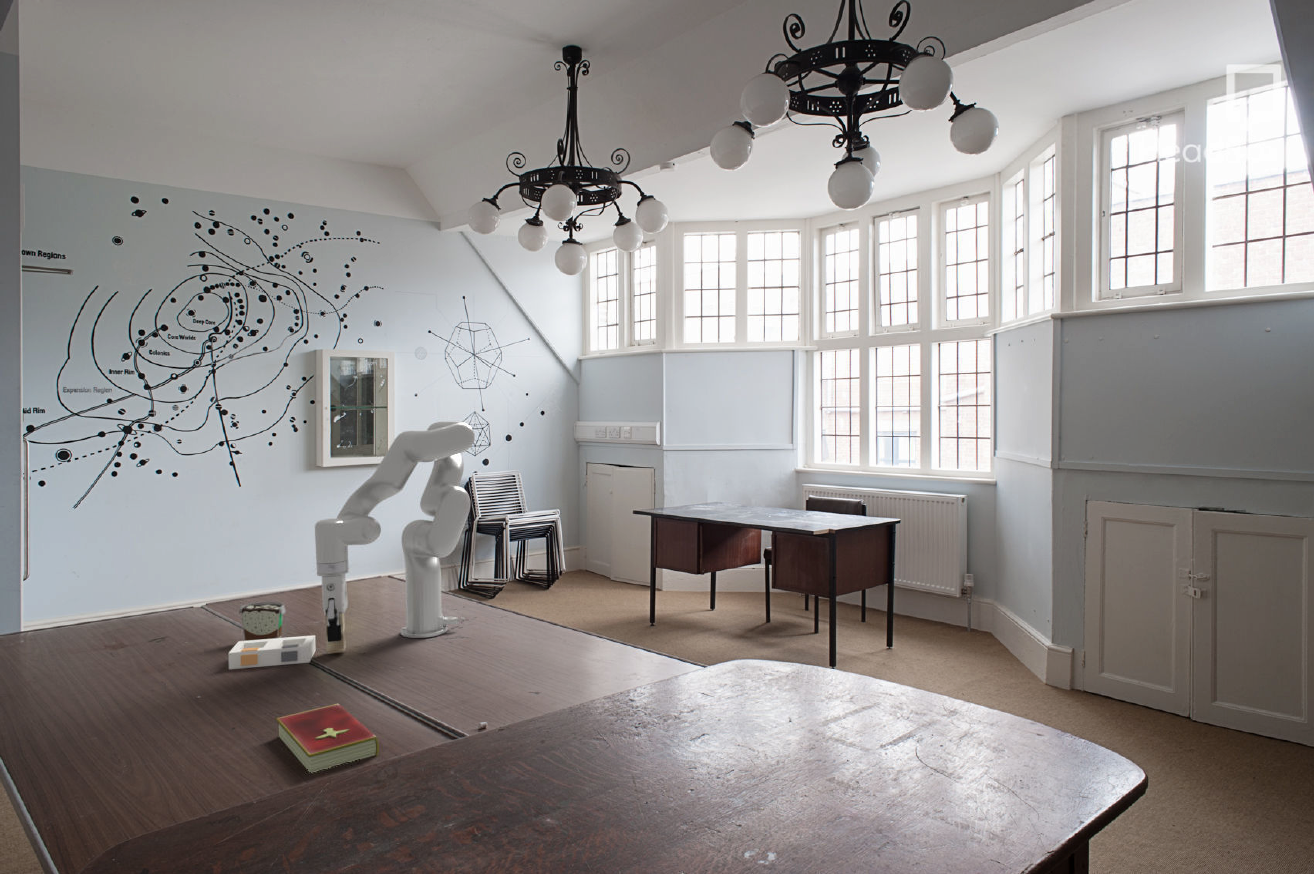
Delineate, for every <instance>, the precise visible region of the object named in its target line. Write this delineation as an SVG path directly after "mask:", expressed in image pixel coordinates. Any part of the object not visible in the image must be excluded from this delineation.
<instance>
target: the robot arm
mask: <svg viewBox="0 0 1314 874" xmlns="http://www.w3.org/2000/svg"><path fill="white" fill-rule="evenodd" d="M474 431H475V430H474V429H473V428H472V426H471V425H469V424H468V423H467V422H463V421H436V422H434V423H432V424H430V425H429V426H428V428H427V429H426V430H407V431H402V432H401V433H399V434H398V435H397V436H396V437H395V438H394V440H393V442H392V443H391V444H390V446H389V448H388V450H387V452H386V453H385V454H384V456H383V458H382V460H380V461H381V462H380V463H379V464H378V466H377V468H376V469H375V471H374V472H373V474H372V475H371V477H369V478H368V479H367V480H366V481H364V482H363V483H362V484H361V485H360V486H359V487H358V488H357V489H356V490H355V491H354V492H352V494H351V495H350V496H349V498H348V499H347V500H346V502H345V504H344V505H343V506H342V507H341V510H340V511H339V513H338V514H337V517H336V518H325V519H320V520H319V521H318V520H317V522H315V525H314V538H315V539H314V541H315V560H316V564H315V565H316V576H317V577H321V589H322V590H321V595H322V610H323V614H324V616H325V615H327V637H328V642H334V641H341V625H340V620H339V613H340V612H341V613H342V614H343V613H344V614H345V612H346V610H347V608H348V606H349V605H348V604H349V603H348V592H347V591H348V589H347V578H346V577H347V576H346V574H349V572H350V571H349V548H348V546H365V545H370V544H372V543H374V542H376V541H377V539H378V538H379V537H380V534H381V532H382V530H381V528H382V527H381V524H380V522H379V521H378V520H377V519H376V518H374V517H371V515H370V513H371V512H372V511H373V510H374V509H375V507H377V506H378V505H379V504H381V503H382V502H383V501H385V500H387V499H389V498H392V497H394V496H395V495H398V494H399V493H400V492H401V491H403V489H404V487H405V486H406V483H407V482H408V480H409V478H410V477H411V475H412V474H413V472H414V470H415V469H416V467H417V465H418V464H419V463H431V462H433V466H432V470H431V473H430V475H429V477H428V479H427V482H426V485H425V488H424V490H423V492H422V494H421V497H420V502H419V506H420V509H421V511H422V512H423V513H424V514H425V515H426V516H429V517H432V518H433V520H429V519H416V520H413V521H410V522H409V523H407V524H406V526H405V527H404V528H403V531H402V533H401V547H402V552H403V558H404V567H405V568H404V571H405V572H404V574H405V617H406V618H405V619H406V620H405V621H406V622H405V623H406V626H404V627H402V628H400V635H401V636H402V637H405V638H408V639H409V638H411V639H425V638H431V637H432V638H433V637H436V636H437V637H438V636H441V635H443V634H445V633H447V632H448V625H459V617H458V616H453V615H452V616H445V615H444V614H443V612H442V569H441V568H442V567H441V562H440V559H441V558H445V557H447V556H450V555H451V554H452V552H453V551H454V550H455V549H456V548H457V547H456V546H457V545H458V543H459V540H460V537H461V535H462V532H463V530H464V527H465V525H466V522H467V520H468V517H469V513H470V511H471V498H470V495H469V493H468V491H466V489H465V488H464V487H461V486H460V483H461V481H462V478H463V475H464V470H465V469H464V468H465V463H464V460H463V459H464V458H463V456H462V453H464V452H467V451H468V450H469V449H471V447H472V446H473V444H474V442H475V437H476V436H475V432H474ZM369 515H370V516H369ZM334 611H337V613H334ZM335 616H337V618H336V617H335Z"/></svg>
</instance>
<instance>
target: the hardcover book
mask: <svg viewBox="0 0 1314 874" xmlns="http://www.w3.org/2000/svg"><path fill="white" fill-rule="evenodd" d="M275 721H276V722H277V724H278V737H279V738H280V740H282V742H283V743H284V744H285V746H286V747H288V749H289V750H290V751H291V752H292V753H293V755H294V756H295V757H296V758H297V760H298V761H299V762H300V763H301V764H302V766H304V767H305V769H306V770H307V769H308V770H307V771H308V772H309V773H310V772H311V773H312V772H315V773H318V772H317V771H319V770H322V769H326V770H329V769H332V768H331V767H332V766H335V765H340V764H342V763H345V762H350V763H353V762H356V761H355V760H357V761H359V760H358V759H360V760H363V759H367V758H370V757H372V756H373V757H374V756H375V757H376V756H379V752H380V750H379V749H380V742H379V738H378V736H376V735H375V734H374V733H373V732H371V731H370V730H369V729H368V728H367V727H366V726H365V725H364V724H362V722H361V721H360V720H358V719H357V718H355V717H354V716H353V715H352V714H351V713H350V712H349V711H347V710H346V709H345V708H344V707H343V706H341V704H339V703H335V704H331V705H327V706H323V707H322V706H321V707H318V708H313V709H310V710H309V709H308V710H305V711H301V712H298V713H294V714H289V715H285V716H280V717H276V718H275ZM352 761H353V762H352ZM340 766H341V765H340ZM328 768H329V769H328ZM322 771H323V770H322ZM319 772H320V771H319ZM311 773H310V774H311ZM312 774H313V773H312Z"/></svg>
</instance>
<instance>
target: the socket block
mask: <svg viewBox="0 0 1314 874" xmlns="http://www.w3.org/2000/svg"><path fill="white" fill-rule="evenodd" d="M315 652H316V635H302V636H291V637H290V636H289V637H288V636H287V637H281V638H274V639H262V640H249V641H244V640H238V641H237V643H236V644H235V645H234V646H232V648H231V650H230V651H229V652H228V654H227V655H228V670H239V669H248V668H250V669H251V668H260V667H261V668H262V667H271V666H281V665H282V666H283V665H294V664H305V663H306V664H307V663H311V660H312V658H313V656H314V654H315Z"/></svg>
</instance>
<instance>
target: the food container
mask: <svg viewBox="0 0 1314 874" xmlns="http://www.w3.org/2000/svg"><path fill="white" fill-rule="evenodd" d="M285 607H286V606H285V605H284V603H283V602H281V601H280V602H279V601H258V602H252V603H247V604H243V605H240V607H239V610H238V615H239V614H240V616H241V624H242V625H241V626H242V633H243V641H249V640H262V639H274V638H282V632H283V631H282V628H283V618H284V614H285V613H286V612H287V610H286V608H285Z"/></svg>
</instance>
